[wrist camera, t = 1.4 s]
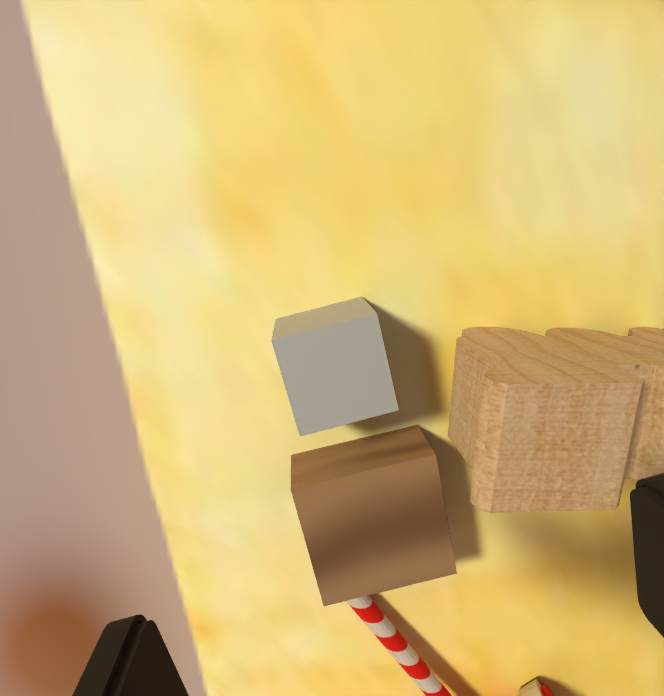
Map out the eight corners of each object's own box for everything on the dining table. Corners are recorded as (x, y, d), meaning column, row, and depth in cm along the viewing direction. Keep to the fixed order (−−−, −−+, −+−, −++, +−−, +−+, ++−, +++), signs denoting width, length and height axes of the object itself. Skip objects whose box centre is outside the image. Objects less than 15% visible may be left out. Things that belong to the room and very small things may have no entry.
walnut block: (291, 452, 28) (290, 489, 24) (416, 422, 28) (435, 454, 24) (320, 557, 30) (323, 606, 26) (435, 529, 30) (456, 573, 26)
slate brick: (275, 318, 25) (271, 340, 21) (361, 296, 26) (376, 312, 21) (299, 398, 27) (300, 436, 22) (380, 377, 27) (398, 410, 22)
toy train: (674, 411, 29) (861, 503, 19) (415, 415, 28) (479, 516, 18) (693, 327, 28) (906, 381, 18) (421, 326, 26) (495, 385, 17)
